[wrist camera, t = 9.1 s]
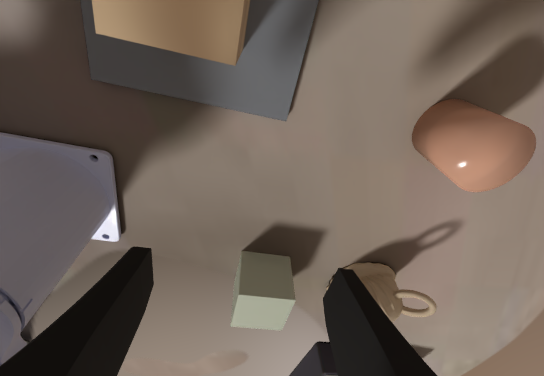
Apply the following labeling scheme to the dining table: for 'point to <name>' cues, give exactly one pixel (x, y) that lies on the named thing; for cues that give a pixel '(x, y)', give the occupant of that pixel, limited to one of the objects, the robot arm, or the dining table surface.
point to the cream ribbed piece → (389, 290)
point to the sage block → (262, 291)
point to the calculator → (317, 362)
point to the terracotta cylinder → (473, 144)
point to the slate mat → (215, 62)
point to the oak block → (178, 25)
